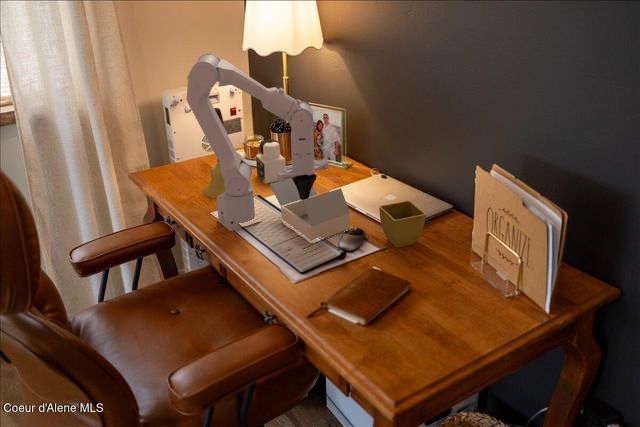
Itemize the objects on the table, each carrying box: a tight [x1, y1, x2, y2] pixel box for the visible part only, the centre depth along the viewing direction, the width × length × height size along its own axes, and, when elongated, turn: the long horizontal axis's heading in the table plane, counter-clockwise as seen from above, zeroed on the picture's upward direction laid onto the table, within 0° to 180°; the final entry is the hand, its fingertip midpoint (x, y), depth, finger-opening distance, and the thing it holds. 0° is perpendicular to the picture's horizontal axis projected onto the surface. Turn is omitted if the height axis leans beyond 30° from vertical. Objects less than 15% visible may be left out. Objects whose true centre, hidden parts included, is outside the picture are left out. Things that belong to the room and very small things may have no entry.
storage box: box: [280, 194, 351, 241], centre depth 155 cm, size 12×14×5 cm
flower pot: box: [378, 200, 427, 248], centre depth 146 cm, size 9×9×9 cm
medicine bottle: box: [255, 139, 287, 185], centre depth 182 cm, size 7×7×12 cm
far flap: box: [269, 178, 318, 207], centre depth 160 cm, size 12×7×1 cm
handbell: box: [202, 107, 226, 199], centre depth 172 cm, size 12×12×25 cm
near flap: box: [302, 188, 351, 226], centre depth 148 cm, size 12×7×1 cm
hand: (304, 199), depth 157 cm, fingers closed
